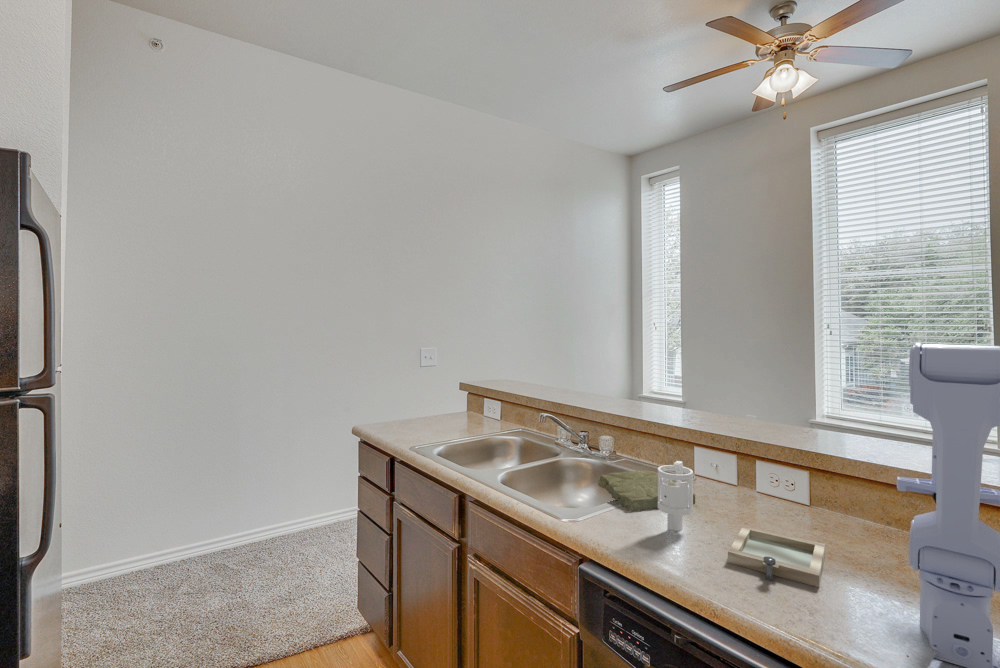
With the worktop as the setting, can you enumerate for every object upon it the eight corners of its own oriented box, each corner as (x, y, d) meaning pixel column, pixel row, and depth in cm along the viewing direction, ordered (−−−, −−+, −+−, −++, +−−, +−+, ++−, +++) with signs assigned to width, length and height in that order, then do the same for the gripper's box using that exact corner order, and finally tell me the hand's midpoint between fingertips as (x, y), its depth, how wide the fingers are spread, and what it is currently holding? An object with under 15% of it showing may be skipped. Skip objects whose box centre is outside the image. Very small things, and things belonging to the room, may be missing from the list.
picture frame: (818, 590, 80) (818, 578, 80) (726, 564, 88) (726, 553, 88) (825, 554, 92) (825, 544, 92) (743, 535, 100) (743, 525, 100)
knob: (774, 591, 82) (774, 562, 82) (762, 588, 83) (762, 559, 83) (775, 586, 84) (776, 558, 83) (763, 583, 85) (764, 555, 85)
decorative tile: (651, 479, 141) (651, 467, 141) (696, 505, 121) (696, 491, 121) (592, 486, 136) (592, 473, 136) (629, 513, 116) (629, 499, 116)
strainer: (696, 532, 105) (696, 463, 104) (687, 544, 99) (687, 471, 99) (663, 524, 109) (663, 457, 109) (653, 535, 103) (653, 465, 103)
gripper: (1011, 460, 78) (1009, 544, 79) (895, 447, 86) (894, 522, 87) (1025, 472, 72) (1023, 562, 73) (899, 456, 81) (898, 537, 81)
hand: (953, 541), depth 79 cm, fingers closed
